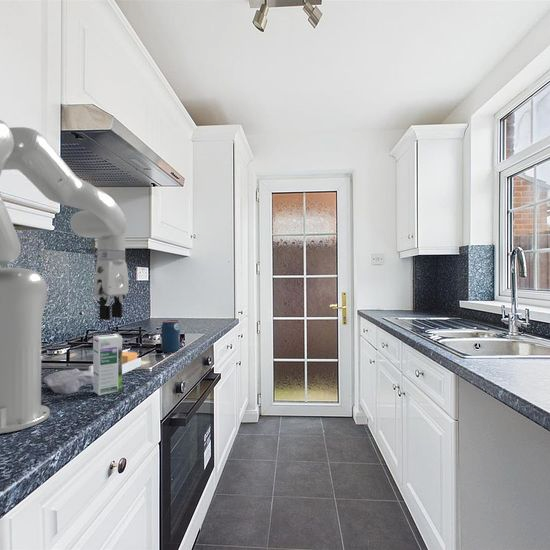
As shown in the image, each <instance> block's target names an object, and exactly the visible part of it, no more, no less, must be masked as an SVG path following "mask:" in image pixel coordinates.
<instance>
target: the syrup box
mask: <svg viewBox="0 0 550 550" xmlns="http://www.w3.org/2000/svg"><path fill="white" fill-rule="evenodd" d="M92 343H93V344H92V354H93V355H92V356H93V361H92V362H93V363H92V365H93V383H92V384H93V391H94V392H95V394H97V396H98V397H100V396H103V395H108V394H109V395H110V394H114V393H119V392H122V391H123V389H122V388H123V374H122V352H123V336H122V335H121V334H119V333H113V334H101V335H93V337H92Z"/></svg>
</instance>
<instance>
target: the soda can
mask: <svg viewBox="0 0 550 550" xmlns="http://www.w3.org/2000/svg"><path fill="white" fill-rule="evenodd" d="M160 330H161V331H160V333H161V338H160V339H161V343H160V344H161V347H160V349H161V351H162V353H164V352H167V353H166V354H173V353H172V352H176V353H178V352H179V350H180V349H181V348H180V347H181V346H180V345H181V325H180V322H179V320H178V319H177V320H176V319H167V320H163V321H162V324H161V329H160ZM177 351H178V352H177Z"/></svg>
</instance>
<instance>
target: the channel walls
mask: <svg viewBox="0 0 550 550" xmlns="http://www.w3.org/2000/svg"><path fill="white" fill-rule="evenodd" d="M141 361H142V357H137V359H135V360H132V361H130V362H127V363H125V364H122V375H124V374H126V373H129V372H130V371H133V370H135V369H137V367H138V368H139V367H142V366H141ZM88 371H92V372H93V364H91V365H90V366H88Z"/></svg>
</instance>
